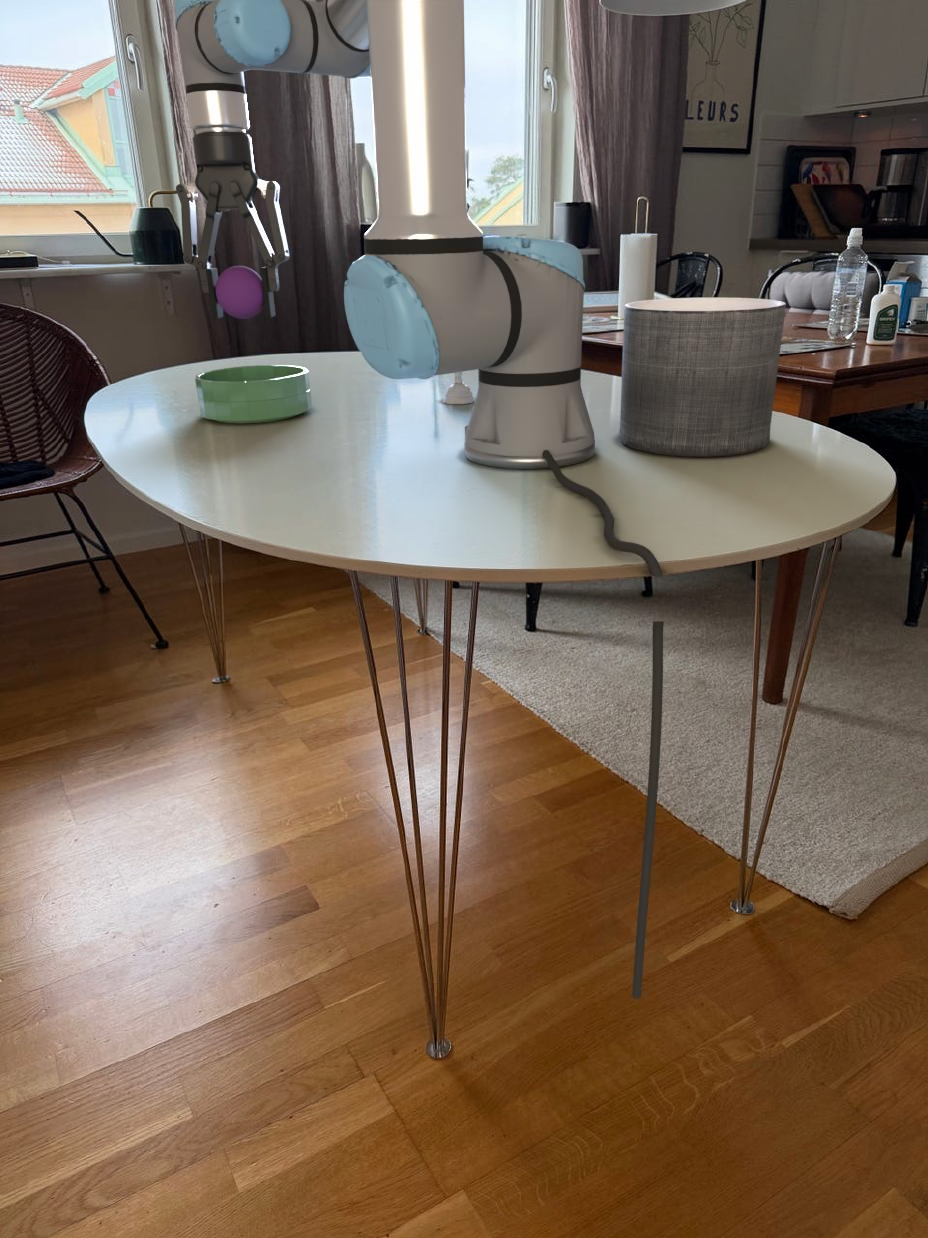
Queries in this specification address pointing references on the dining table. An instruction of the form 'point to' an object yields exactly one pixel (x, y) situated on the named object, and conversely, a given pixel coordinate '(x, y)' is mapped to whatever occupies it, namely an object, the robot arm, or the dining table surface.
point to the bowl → (253, 393)
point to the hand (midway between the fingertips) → (244, 316)
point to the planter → (699, 375)
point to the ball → (240, 292)
